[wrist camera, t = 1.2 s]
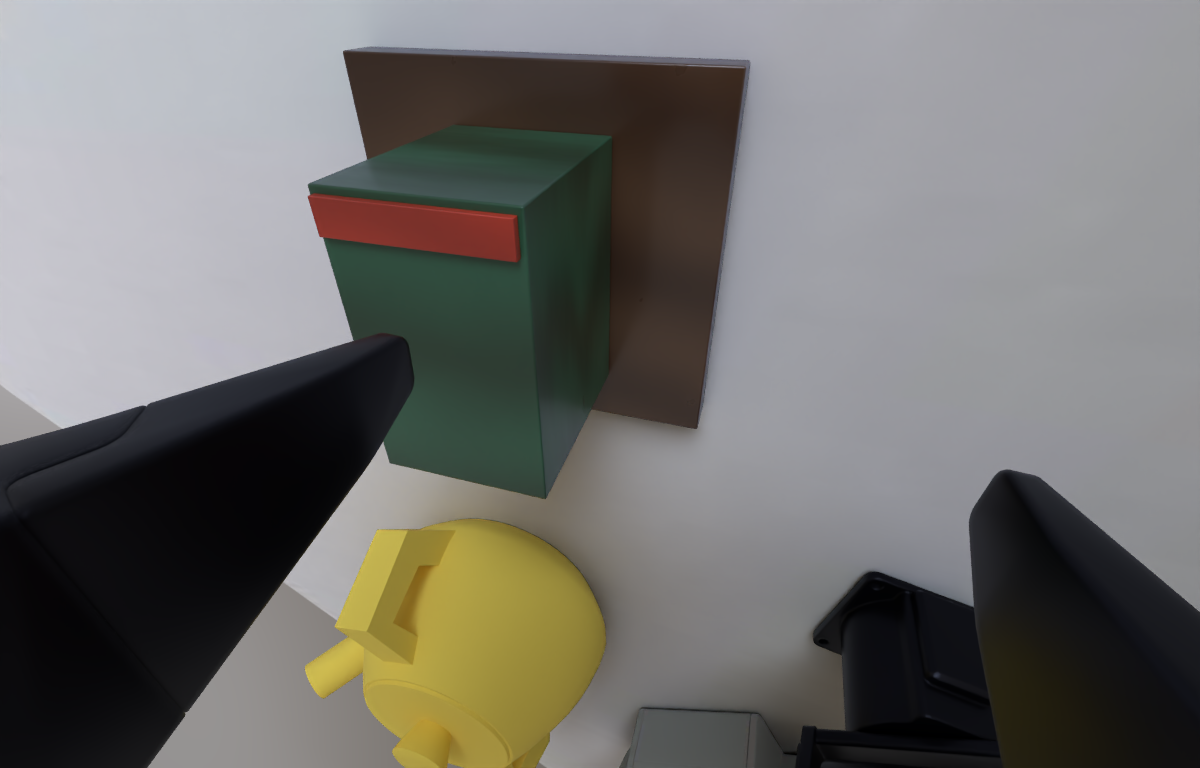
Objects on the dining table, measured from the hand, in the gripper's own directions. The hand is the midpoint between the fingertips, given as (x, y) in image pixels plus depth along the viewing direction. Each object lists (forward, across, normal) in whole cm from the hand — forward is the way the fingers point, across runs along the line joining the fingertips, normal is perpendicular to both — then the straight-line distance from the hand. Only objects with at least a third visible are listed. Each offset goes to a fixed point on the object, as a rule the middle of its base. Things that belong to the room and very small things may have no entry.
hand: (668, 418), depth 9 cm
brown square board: (+13, +7, +3) cm, 15 cm away
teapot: (+13, +12, +28) cm, 32 cm away
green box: (+11, +7, +3) cm, 13 cm away
